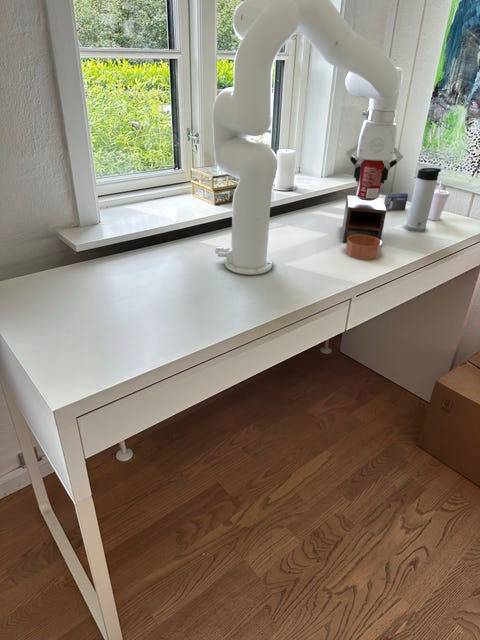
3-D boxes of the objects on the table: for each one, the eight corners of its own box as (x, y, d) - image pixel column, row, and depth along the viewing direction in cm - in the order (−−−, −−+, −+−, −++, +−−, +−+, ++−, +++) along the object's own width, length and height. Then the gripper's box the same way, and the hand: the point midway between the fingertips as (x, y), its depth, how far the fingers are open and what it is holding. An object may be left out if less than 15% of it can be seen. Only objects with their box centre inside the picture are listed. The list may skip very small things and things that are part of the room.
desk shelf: (342, 242, 144) (348, 207, 138) (342, 228, 155) (347, 195, 149) (379, 245, 143) (386, 210, 137) (376, 231, 154) (382, 198, 148)
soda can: (380, 202, 140) (388, 160, 134) (357, 201, 140) (364, 159, 134) (374, 195, 145) (382, 155, 139) (353, 194, 145) (359, 154, 139)
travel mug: (422, 233, 154) (437, 171, 143) (402, 228, 157) (416, 167, 147) (428, 228, 158) (443, 167, 148) (409, 224, 161) (423, 164, 151)
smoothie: (422, 215, 171) (431, 176, 163) (440, 216, 170) (450, 177, 163) (426, 220, 165) (435, 180, 158) (444, 222, 164) (455, 182, 157)
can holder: (346, 257, 133) (348, 244, 131) (345, 245, 142) (347, 233, 140) (380, 261, 132) (383, 247, 130) (377, 248, 140) (380, 236, 138)
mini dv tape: (384, 210, 174) (388, 194, 171) (382, 209, 175) (386, 193, 172) (404, 210, 175) (408, 194, 172) (402, 208, 177) (406, 192, 174)
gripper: (349, 116, 129) (340, 182, 138) (415, 120, 127) (400, 187, 136) (348, 113, 135) (339, 176, 144) (411, 117, 133) (397, 180, 142)
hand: (369, 181), depth 140 cm, fingers closed on soda can, 6 cm apart
